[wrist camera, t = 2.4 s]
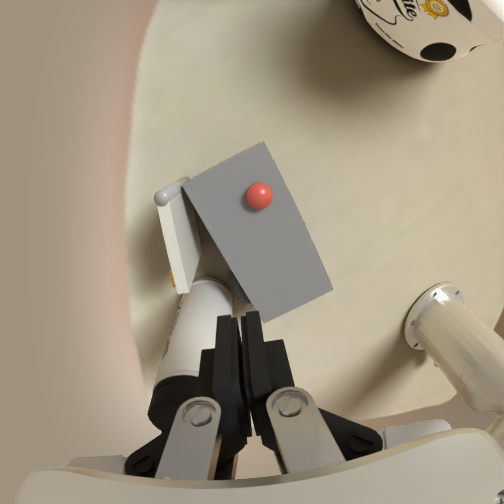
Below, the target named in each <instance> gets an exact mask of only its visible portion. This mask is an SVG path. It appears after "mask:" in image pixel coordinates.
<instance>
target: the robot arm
mask: <svg viewBox="0 0 504 504" xmlns="http://www.w3.org/2000/svg"><path fill="white" fill-rule="evenodd" d="M241 332H242V342H241V337H240V331H239V326H238V321H237V317H234V318H232V316H231V314H229V315H221V316H217V325H216V338H215V348H211V349H202V351H201V358H200V366H199V374H198V383H197V392H196V397H195V398H192V399H189V400H187V401H186V402H184V403H183V404H182V405H181V406H180V407H179V409H178V411H177V414H176V417H175V420H174V422H173V425H172V427H170V428H169V429H168V430H166V431H165V432H163V433H162V434H161V435H159V436H158V437H156V438H155V439H153V440H152V441H150V442H149V443H147V444H146V445H144V446H143V447H141V448H140V449H138V450H136V451H135V452H134V453H132V454H131V455H130V456H129V457H124V456H123V455H118V456H101V457H78V458H75V459H73V460H72V461H70V463H69V464H68V466H52V467H44V468H40V469H37V470H34V471H33V472H31V473H30V474H29V475H28V476H27V477H26V478H25V480H24V481H23V483H22V485H21V487H20V489H19V491H18V494H17V496H16V499H15V501H14V504H504V340H503V339H502V338H501V337H500V336H499V335H498V334H496V333H495V332H494V331H493V330H492V329H491V328H490V327H489V326H488V325H487V324H486V323H485V322H483V321H482V320H481V319H480V318H479V317H478V316H477V315H475V314H474V313H473V312H472V311H471V310H470V309H469V308H467V307H466V306H465V305H464V299H463V294H462V291H461V290H460V289H459V288H458V287H457V286H456V285H454V284H452V283H447V282H446V283H440V284H438V285H435V286H434V287H432V288H430V289H429V290H428V291H426V292H425V293H424V294H423V295H422V296H421V297H420V298H419V299H418V300H417V302H416V303H415V304H414V306H413V307H412V309H411V311H410V312H409V314H408V317H407V319H406V322H405V327H404V337H405V340H406V341H407V343H408V344H409V345H410V346H411V347H412V348H413V349H416V350H426V352H427V353H428V354H429V355H430V357H431V358H432V359H433V360H434V365H435V366H436V367H439V368H440V369H441V371H442V372H443V373H444V375H445V376H446V377H447V379H448V380H449V381H450V383H451V384H452V385H453V387H454V388H455V389H456V391H457V392H458V394H459V395H460V396H461V398H462V399H463V401H464V402H465V403H466V405H467V406H468V407H469V408H470V409H472V410H474V411H477V412H497V413H498V417H497V418H496V420H495V421H494V422H493V423H492V424H491V426H490V427H489V428H488V429H487V430H486V431H483V430H480V429H476V428H457V429H452V428H451V427H450V425H449V424H448V423H447V422H446V421H444V420H441V419H431V420H427V421H421V422H417V423H411V424H405V425H399V426H393V427H386V428H384V430H382V431H375V430H373V429H371V428H368V427H366V426H363V425H360V424H358V423H355V422H352V421H350V420H347V419H345V418H342V417H340V416H337V415H335V414H332V413H330V412H327V411H325V410H323V409H320V408H318V407H317V406H316V404H315V402H314V400H313V398H312V396H311V395H310V394H309V393H308V392H307V391H305V390H304V389H302V388H298V387H295V385H294V381H293V377H292V373H291V369H290V365H289V361H288V357H287V353H286V349H285V345H284V341H283V339H280V340H274V341H267V342H264V339H263V333H262V326H261V320H260V314H259V311H252V312H246V316H241ZM250 411H251V416H252V420H253V424H254V428H255V432H256V435H257V436H260V435H261V439H262V444H263V445H264V446H266V447H267V448H269V449H271V450H273V451H274V454H275V457H276V460H277V463H278V466H279V469H280V472H281V474H282V475H277V476H269V477H261V478H250V479H237V480H235V474H236V468H237V461H238V452H239V451H240V450H242V449H243V448H244V447H245V445H246V444H247V437H251V436H252V428H251V416H250Z"/></svg>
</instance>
